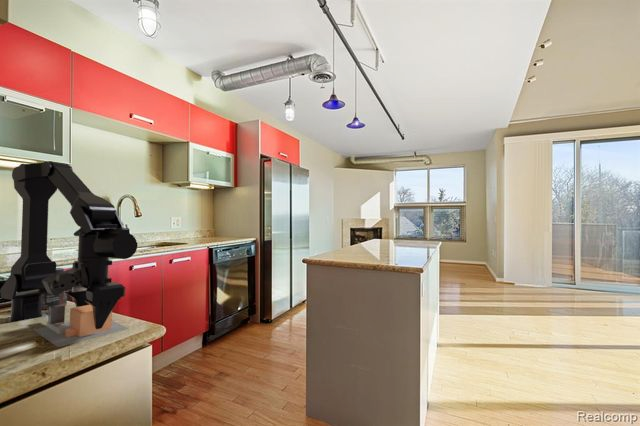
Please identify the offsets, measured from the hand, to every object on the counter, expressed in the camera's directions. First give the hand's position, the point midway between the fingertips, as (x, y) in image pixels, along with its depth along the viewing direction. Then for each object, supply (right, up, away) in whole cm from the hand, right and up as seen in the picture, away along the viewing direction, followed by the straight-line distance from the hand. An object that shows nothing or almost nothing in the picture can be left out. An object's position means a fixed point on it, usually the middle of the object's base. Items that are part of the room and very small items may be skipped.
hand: (90, 324), depth 69 cm
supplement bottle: (-26, -2, +19) cm, 32 cm away
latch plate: (-2, -2, 0) cm, 3 cm away
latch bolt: (-10, +1, +1) cm, 10 cm away
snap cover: (0, -1, 0) cm, 1 cm away
